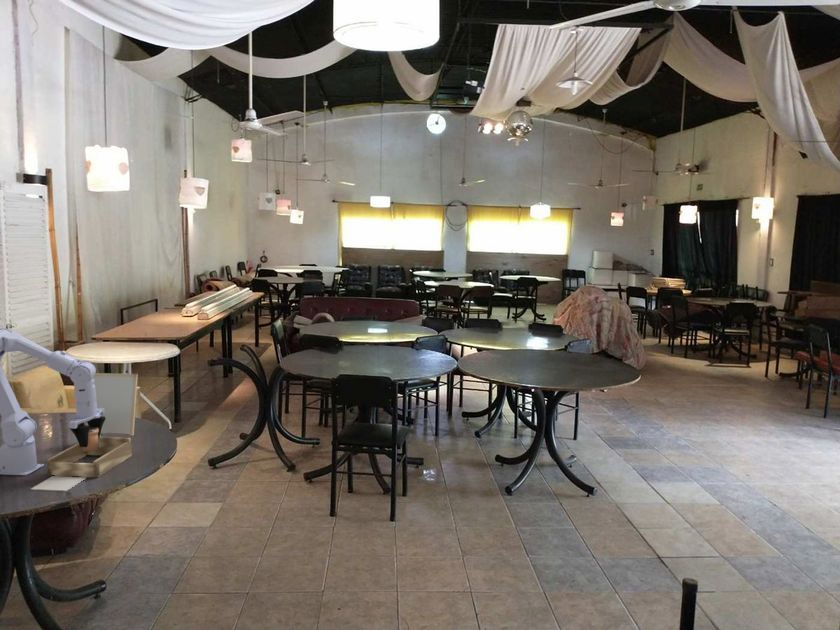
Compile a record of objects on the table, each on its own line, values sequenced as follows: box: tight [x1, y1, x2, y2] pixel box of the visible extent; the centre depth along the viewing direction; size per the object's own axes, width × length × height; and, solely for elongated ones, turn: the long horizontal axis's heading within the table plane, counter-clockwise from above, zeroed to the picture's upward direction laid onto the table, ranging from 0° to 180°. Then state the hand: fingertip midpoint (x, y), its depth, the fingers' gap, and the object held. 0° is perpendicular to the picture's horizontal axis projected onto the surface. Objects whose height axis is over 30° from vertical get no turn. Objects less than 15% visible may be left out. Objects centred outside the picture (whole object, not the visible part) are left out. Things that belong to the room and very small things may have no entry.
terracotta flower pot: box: [82, 427, 99, 451], centre depth 198 cm, size 6×6×6 cm
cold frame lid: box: [86, 372, 139, 436], centre depth 209 cm, size 17×20×1 cm
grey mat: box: [30, 476, 87, 492], centre depth 185 cm, size 11×9×1 cm
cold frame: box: [46, 436, 133, 478], centre depth 199 cm, size 16×18×6 cm
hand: (89, 443), depth 198 cm, fingers closed on terracotta flower pot, 5 cm apart
